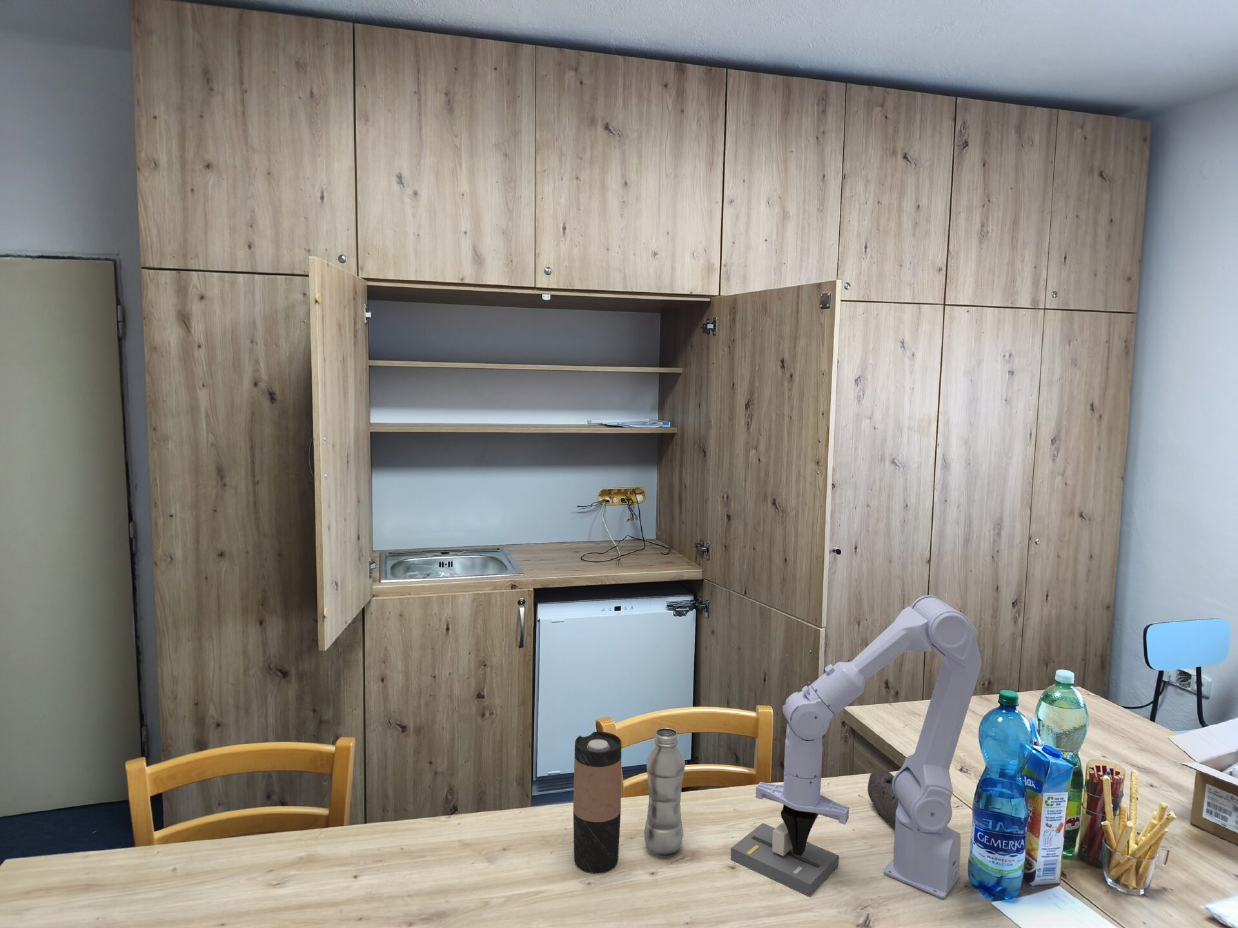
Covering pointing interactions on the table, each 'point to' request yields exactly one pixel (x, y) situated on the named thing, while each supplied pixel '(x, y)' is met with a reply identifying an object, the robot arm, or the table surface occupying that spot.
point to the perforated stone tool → (883, 795)
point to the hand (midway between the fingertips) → (799, 851)
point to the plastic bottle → (664, 794)
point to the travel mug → (597, 801)
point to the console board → (785, 861)
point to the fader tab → (781, 840)
